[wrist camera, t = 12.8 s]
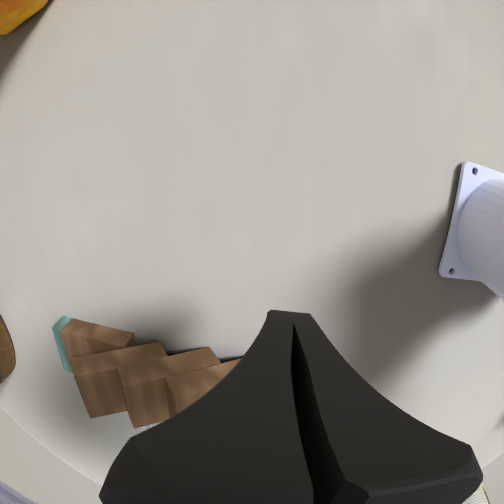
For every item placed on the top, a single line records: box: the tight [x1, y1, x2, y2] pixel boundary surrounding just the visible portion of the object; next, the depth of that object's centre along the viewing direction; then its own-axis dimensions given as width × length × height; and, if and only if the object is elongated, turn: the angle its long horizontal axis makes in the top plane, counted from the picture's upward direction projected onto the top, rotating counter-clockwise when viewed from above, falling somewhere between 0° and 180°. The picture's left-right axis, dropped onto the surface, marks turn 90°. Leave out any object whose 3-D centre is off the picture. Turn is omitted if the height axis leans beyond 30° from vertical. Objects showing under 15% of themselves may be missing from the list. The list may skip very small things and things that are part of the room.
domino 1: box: [52, 316, 135, 372], centre depth 23 cm, size 2×5×7 cm
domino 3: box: [117, 347, 221, 428], centre depth 21 cm, size 2×5×7 cm
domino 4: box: [165, 358, 241, 418], centre depth 20 cm, size 2×5×7 cm
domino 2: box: [72, 341, 168, 418], centre depth 20 cm, size 2×5×7 cm
